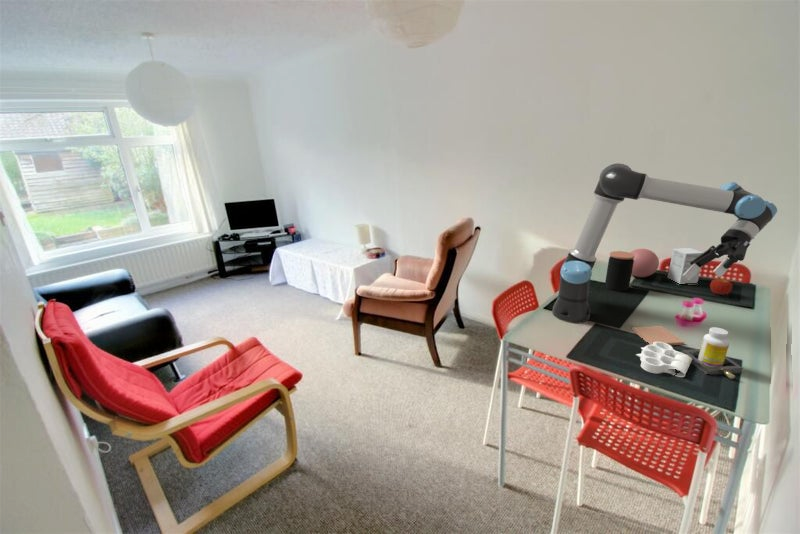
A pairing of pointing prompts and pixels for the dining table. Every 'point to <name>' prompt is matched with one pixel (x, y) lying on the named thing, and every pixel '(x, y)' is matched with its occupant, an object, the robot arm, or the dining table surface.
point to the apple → (721, 286)
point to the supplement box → (683, 265)
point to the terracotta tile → (657, 335)
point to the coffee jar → (619, 270)
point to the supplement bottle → (714, 347)
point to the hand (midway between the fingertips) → (700, 276)
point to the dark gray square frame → (726, 370)
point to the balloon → (644, 263)
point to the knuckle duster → (664, 359)
